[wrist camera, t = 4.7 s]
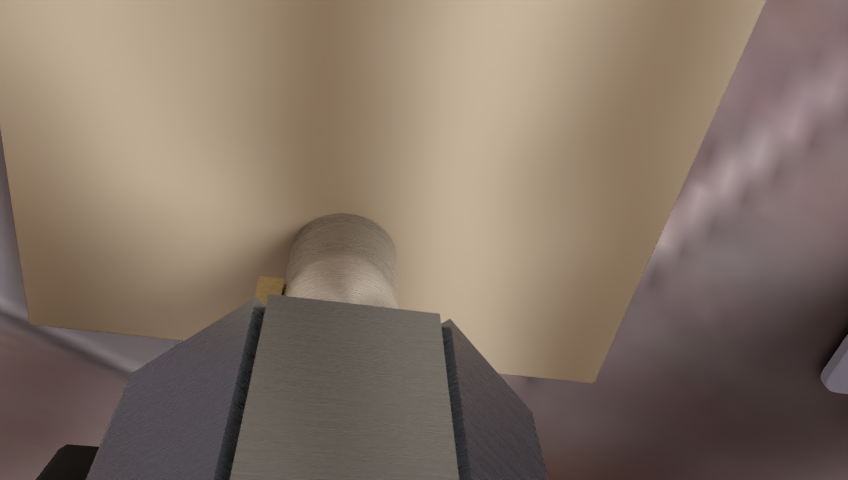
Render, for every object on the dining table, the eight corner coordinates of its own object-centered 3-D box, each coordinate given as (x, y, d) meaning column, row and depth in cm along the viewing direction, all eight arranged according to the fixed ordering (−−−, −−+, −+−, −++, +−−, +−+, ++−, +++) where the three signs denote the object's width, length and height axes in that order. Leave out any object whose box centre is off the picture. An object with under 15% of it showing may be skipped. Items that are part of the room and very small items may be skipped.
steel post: (405, 221, 15) (413, 361, 12) (387, 305, 17) (390, 455, 13) (271, 203, 15) (236, 342, 11) (263, 291, 16) (230, 441, 13)
